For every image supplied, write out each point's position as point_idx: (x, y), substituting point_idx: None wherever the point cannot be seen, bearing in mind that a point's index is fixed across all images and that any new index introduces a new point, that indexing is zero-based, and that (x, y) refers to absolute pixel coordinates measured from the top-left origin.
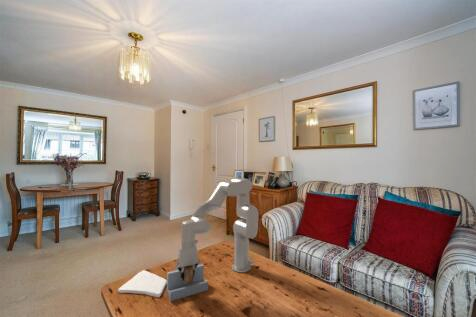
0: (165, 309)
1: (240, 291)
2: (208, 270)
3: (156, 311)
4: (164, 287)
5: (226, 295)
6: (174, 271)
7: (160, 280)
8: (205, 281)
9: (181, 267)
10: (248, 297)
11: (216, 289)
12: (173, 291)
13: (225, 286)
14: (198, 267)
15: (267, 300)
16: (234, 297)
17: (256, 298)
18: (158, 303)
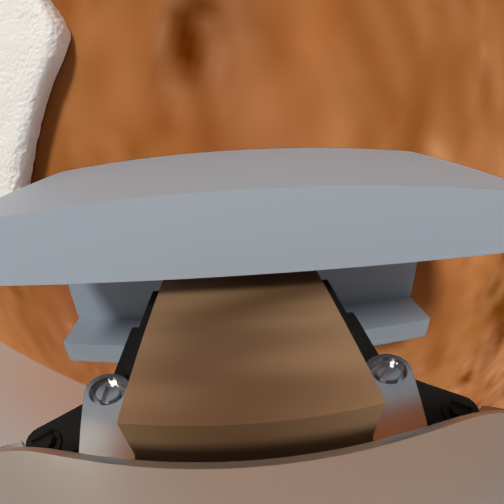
0: (80, 367)
1: (497, 354)
2: (486, 28)
3: (39, 358)
4: (42, 119)
5: (440, 369)
6: (9, 251)
7: (10, 37)
8: (412, 324)
9: (103, 444)
10: (484, 392)
11: (438, 307)
12: (93, 361)
13: (487, 295)
14: (472, 249)
15: (501, 408)
16: (453, 386)
17: (493, 398)
18: (29, 302)
